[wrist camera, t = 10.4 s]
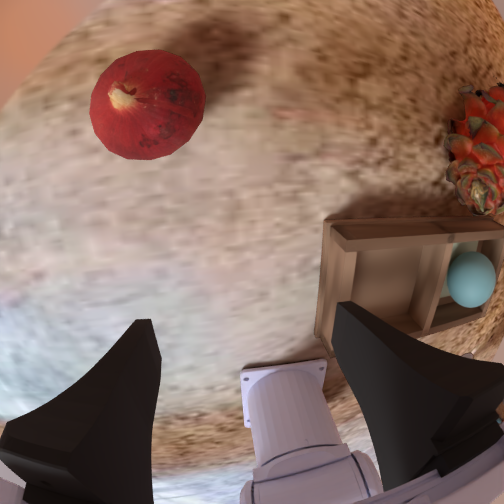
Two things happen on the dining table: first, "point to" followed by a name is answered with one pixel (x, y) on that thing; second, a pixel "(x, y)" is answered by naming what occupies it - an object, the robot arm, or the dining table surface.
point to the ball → (471, 279)
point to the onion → (147, 104)
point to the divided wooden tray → (401, 270)
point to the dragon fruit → (478, 151)
